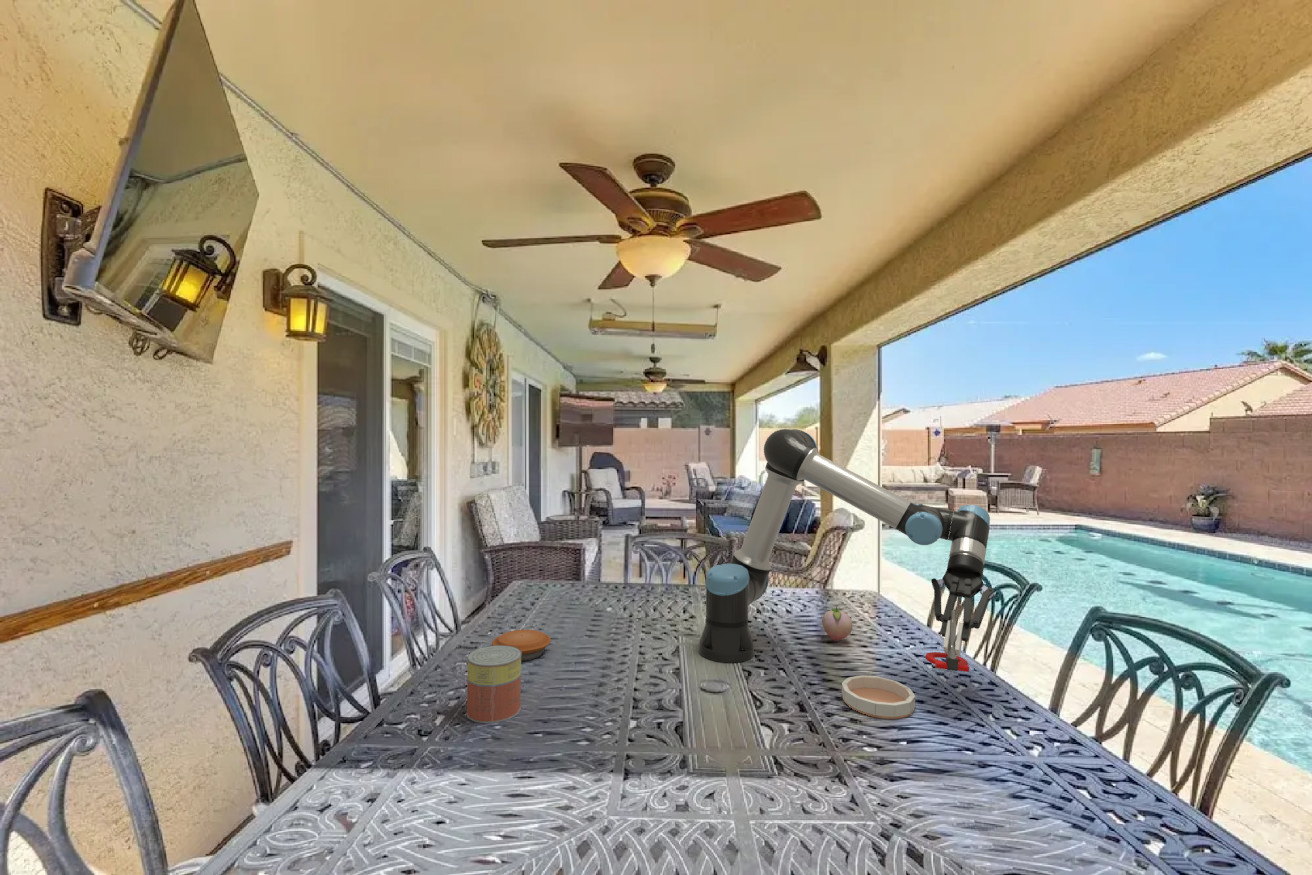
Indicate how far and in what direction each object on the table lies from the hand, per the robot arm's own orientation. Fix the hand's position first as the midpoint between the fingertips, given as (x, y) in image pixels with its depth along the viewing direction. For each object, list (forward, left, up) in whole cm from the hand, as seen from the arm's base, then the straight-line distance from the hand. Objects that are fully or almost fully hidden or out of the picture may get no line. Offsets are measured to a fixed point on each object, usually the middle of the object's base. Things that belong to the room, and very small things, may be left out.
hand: (951, 651), depth 125 cm
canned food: (-97, -17, -14) cm, 100 cm away
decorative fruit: (-17, +43, -14) cm, 49 cm away
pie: (-104, +15, -14) cm, 107 cm away
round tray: (-14, +3, -14) cm, 20 cm away
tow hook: (0, +4, -4) cm, 6 cm away
